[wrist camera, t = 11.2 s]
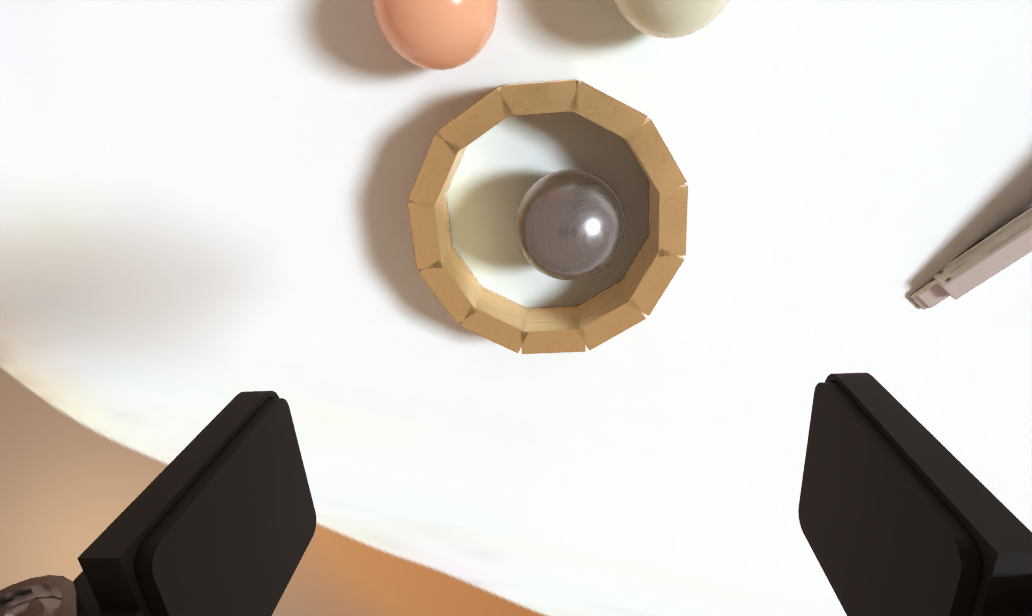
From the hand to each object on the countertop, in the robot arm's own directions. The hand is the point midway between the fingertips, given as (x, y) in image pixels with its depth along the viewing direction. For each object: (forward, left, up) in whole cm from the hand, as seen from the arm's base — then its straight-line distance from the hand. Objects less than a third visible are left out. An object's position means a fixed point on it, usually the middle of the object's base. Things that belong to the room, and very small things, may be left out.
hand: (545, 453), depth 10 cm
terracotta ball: (-9, -4, -18) cm, 20 cm away
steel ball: (0, +1, -18) cm, 18 cm away
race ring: (0, 0, -20) cm, 20 cm away
